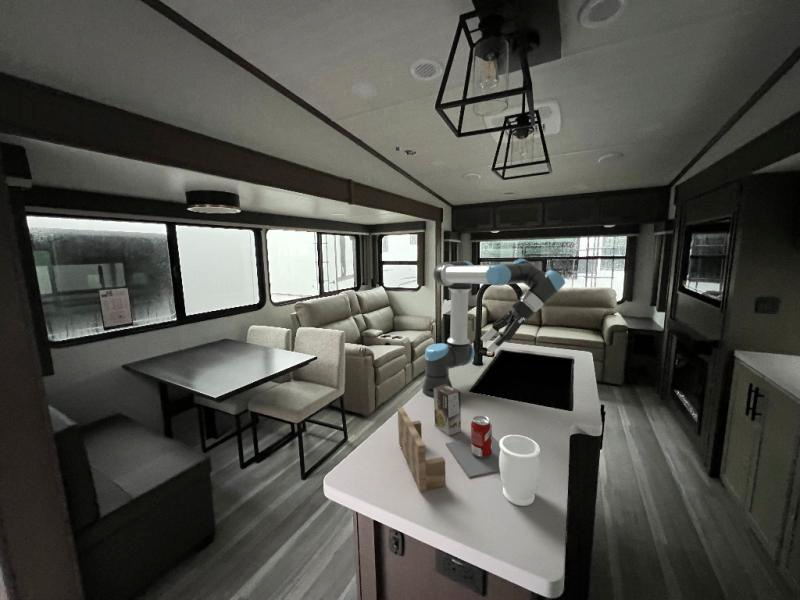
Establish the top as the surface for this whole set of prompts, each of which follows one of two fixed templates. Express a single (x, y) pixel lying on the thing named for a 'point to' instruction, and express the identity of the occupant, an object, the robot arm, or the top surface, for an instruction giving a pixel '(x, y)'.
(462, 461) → the rubber mat
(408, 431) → the walnut bay
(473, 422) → the soda can
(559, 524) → the top surface
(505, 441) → the jar
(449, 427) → the coffee box
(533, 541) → the top surface
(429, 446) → the top surface
